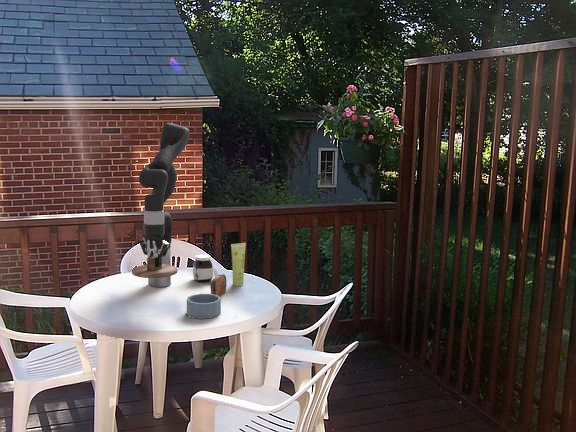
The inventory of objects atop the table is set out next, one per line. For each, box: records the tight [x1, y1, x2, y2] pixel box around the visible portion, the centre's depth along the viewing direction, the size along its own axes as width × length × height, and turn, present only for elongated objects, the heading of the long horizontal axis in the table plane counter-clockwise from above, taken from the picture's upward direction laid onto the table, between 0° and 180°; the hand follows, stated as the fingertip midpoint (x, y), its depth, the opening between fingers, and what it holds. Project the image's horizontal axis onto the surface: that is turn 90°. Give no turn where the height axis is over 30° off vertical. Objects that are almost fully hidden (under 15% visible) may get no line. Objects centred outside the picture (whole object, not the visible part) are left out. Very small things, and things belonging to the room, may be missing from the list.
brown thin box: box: [210, 274, 227, 298], centre depth 253 cm, size 15×3×8 cm, turn 168°
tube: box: [230, 242, 247, 287], centre depth 268 cm, size 6×5×20 cm
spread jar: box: [192, 254, 219, 283], centre depth 275 cm, size 12×11×12 cm
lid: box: [131, 256, 178, 279], centre depth 224 cm, size 17×17×6 cm
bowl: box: [186, 293, 222, 320], centre depth 229 cm, size 13×13×6 cm
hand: (154, 266), depth 224 cm, fingers closed on lid, 2 cm apart
